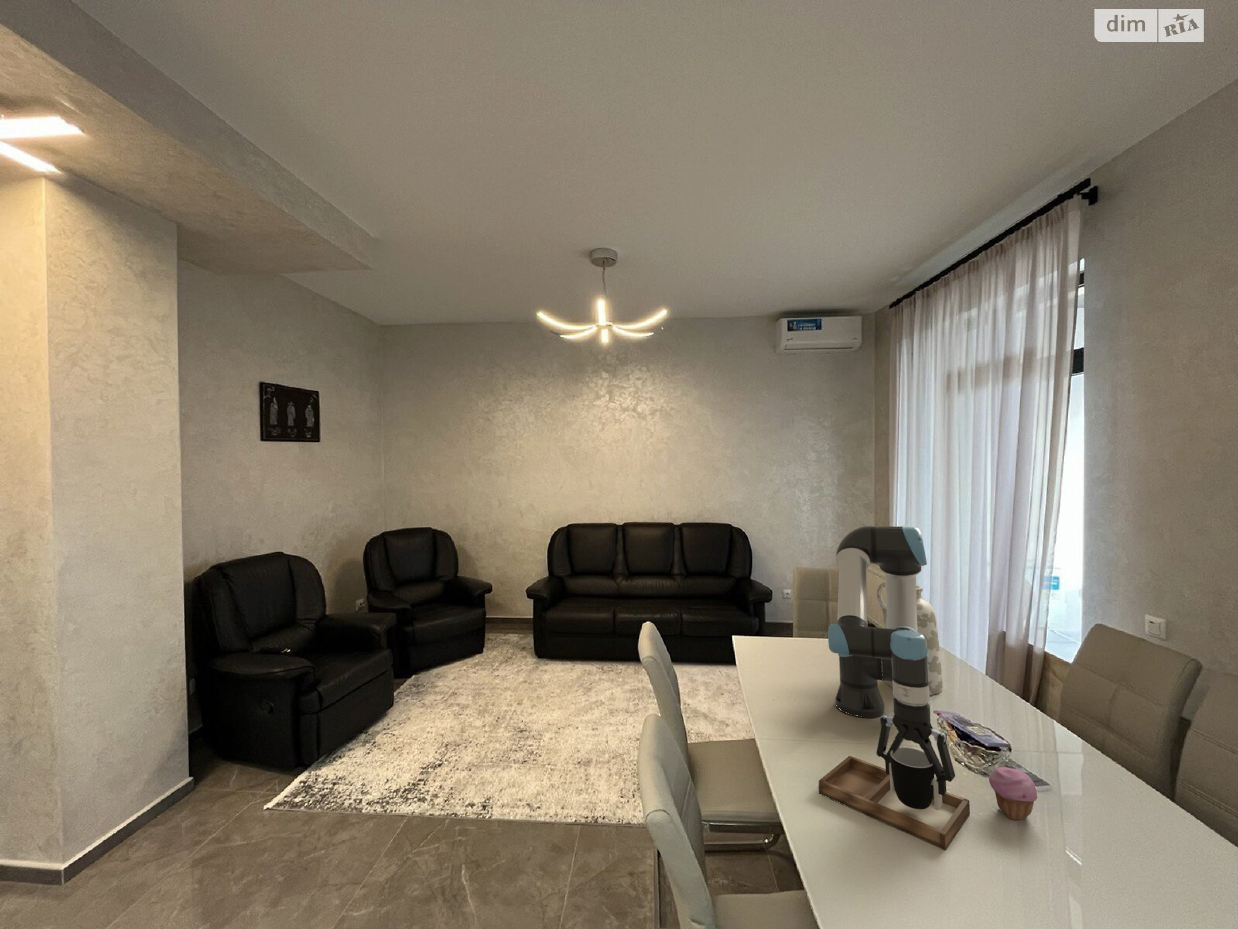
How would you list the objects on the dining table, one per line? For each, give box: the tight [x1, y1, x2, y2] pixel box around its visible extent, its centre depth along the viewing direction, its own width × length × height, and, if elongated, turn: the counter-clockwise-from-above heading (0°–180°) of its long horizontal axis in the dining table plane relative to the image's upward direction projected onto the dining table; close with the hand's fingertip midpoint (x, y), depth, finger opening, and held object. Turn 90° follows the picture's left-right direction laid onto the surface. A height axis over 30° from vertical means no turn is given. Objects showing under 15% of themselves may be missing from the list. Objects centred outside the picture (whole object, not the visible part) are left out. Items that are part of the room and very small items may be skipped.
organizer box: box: [818, 755, 971, 851], centre depth 127 cm, size 28×17×3 cm, turn 42°
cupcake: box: [988, 766, 1038, 821], centre depth 121 cm, size 9×9×10 cm
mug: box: [890, 746, 936, 809], centre depth 123 cm, size 12×9×10 cm
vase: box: [876, 581, 944, 696], centre depth 197 cm, size 20×19×38 cm
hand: (915, 798), depth 123 cm, fingers closed on mug, 9 cm apart
